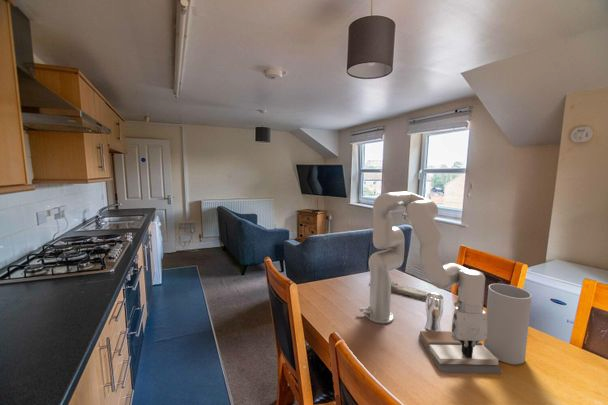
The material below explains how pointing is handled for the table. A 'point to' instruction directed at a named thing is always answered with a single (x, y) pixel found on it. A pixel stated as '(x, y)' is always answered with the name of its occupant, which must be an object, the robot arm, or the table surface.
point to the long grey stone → (408, 291)
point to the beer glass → (434, 311)
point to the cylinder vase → (507, 322)
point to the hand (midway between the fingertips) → (466, 355)
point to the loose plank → (455, 355)
